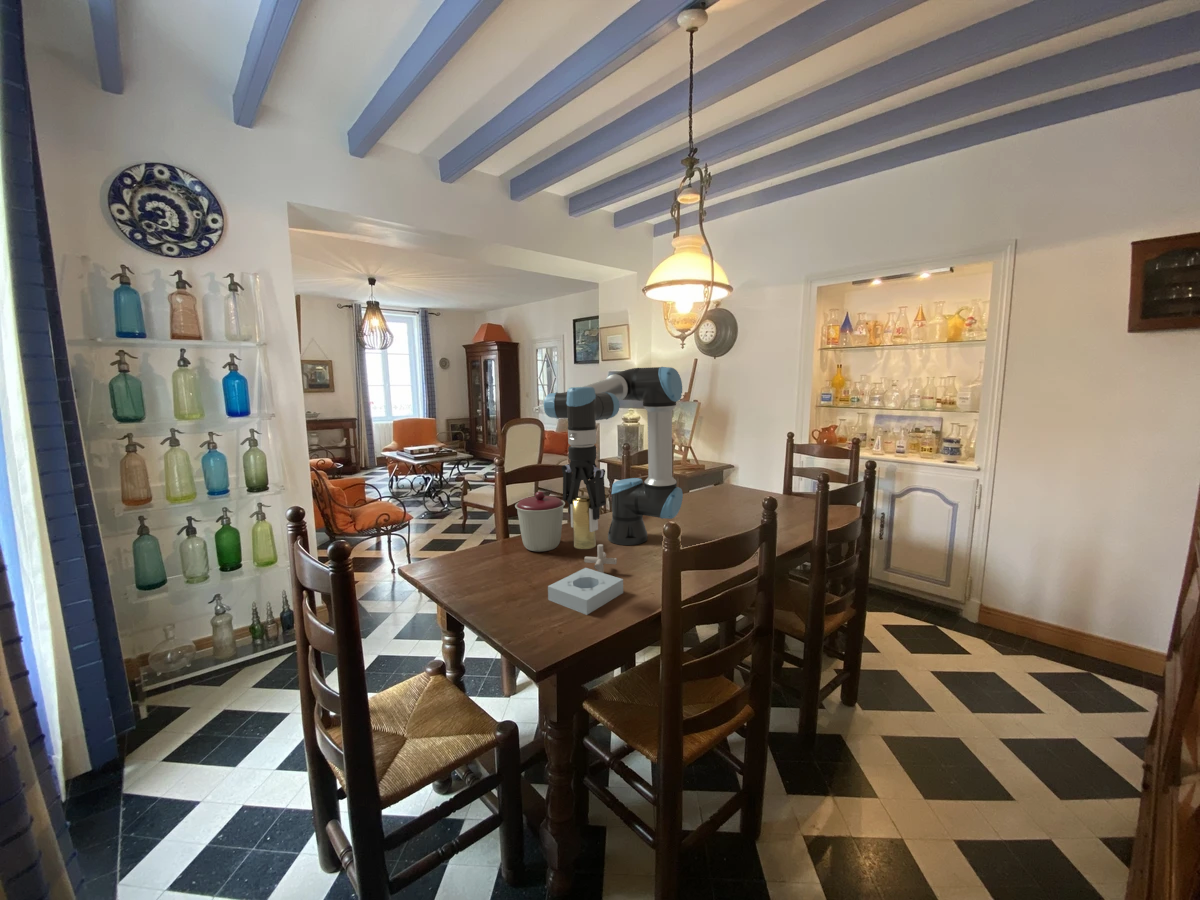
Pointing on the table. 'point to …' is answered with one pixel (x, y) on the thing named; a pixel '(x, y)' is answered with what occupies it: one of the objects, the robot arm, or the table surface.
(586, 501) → the gold metal cylinder
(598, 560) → the pipe connector
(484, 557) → the table surface
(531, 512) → the canister
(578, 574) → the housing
